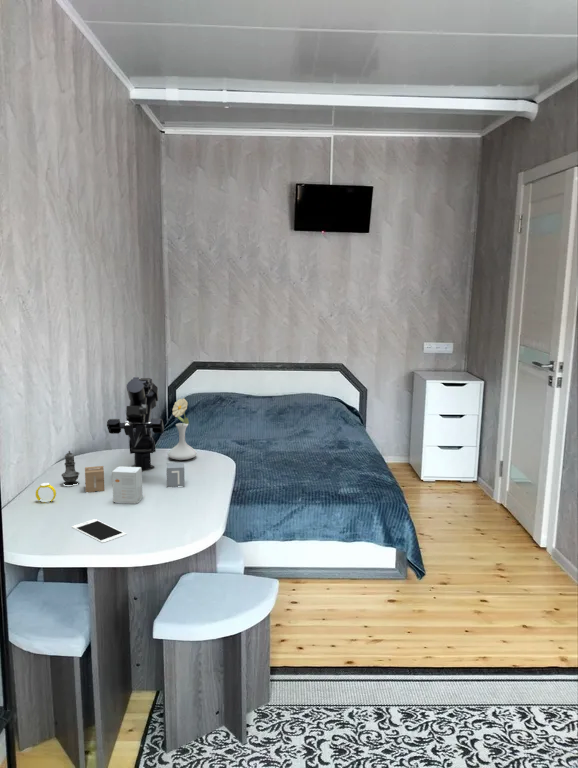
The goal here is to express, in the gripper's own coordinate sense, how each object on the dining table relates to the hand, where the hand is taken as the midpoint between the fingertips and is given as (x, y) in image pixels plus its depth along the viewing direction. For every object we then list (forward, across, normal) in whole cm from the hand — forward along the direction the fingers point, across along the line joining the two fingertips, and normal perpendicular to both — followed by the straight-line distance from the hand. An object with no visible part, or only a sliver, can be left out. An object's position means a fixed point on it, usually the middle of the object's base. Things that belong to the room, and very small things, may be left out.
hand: (133, 447), depth 206 cm
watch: (+19, -26, +1) cm, 32 cm away
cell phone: (+37, -4, -15) cm, 40 cm away
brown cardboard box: (+11, -13, +9) cm, 19 cm away
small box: (+20, 0, +1) cm, 20 cm away
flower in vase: (-13, +14, +32) cm, 38 cm away
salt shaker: (+7, -22, +13) cm, 27 cm away
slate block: (+9, +14, +11) cm, 20 cm away
